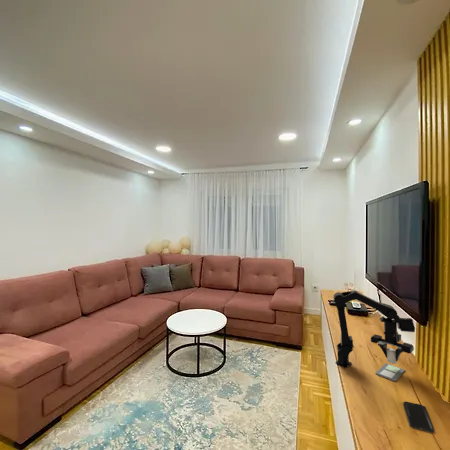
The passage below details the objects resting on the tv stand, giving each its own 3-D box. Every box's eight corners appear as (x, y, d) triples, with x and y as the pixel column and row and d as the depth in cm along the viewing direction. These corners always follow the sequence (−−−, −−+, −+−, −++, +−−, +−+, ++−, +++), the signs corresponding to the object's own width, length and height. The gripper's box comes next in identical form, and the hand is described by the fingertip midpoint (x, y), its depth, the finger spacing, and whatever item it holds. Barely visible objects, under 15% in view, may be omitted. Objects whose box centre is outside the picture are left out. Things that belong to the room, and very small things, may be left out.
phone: (424, 405, 109) (434, 431, 96) (425, 408, 109) (435, 434, 96) (402, 400, 113) (409, 425, 99) (402, 403, 113) (409, 428, 99)
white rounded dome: (395, 364, 134) (395, 353, 134) (386, 361, 137) (385, 350, 137) (398, 361, 137) (397, 350, 137) (388, 358, 140) (388, 347, 140)
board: (395, 381, 127) (395, 380, 127) (375, 374, 134) (375, 372, 134) (404, 370, 136) (404, 369, 136) (385, 364, 143) (385, 362, 143)
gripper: (416, 330, 135) (417, 360, 135) (377, 321, 150) (379, 348, 149) (409, 337, 128) (410, 368, 128) (369, 326, 143) (370, 354, 143)
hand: (392, 359), depth 137 cm, fingers closed on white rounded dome, 4 cm apart
